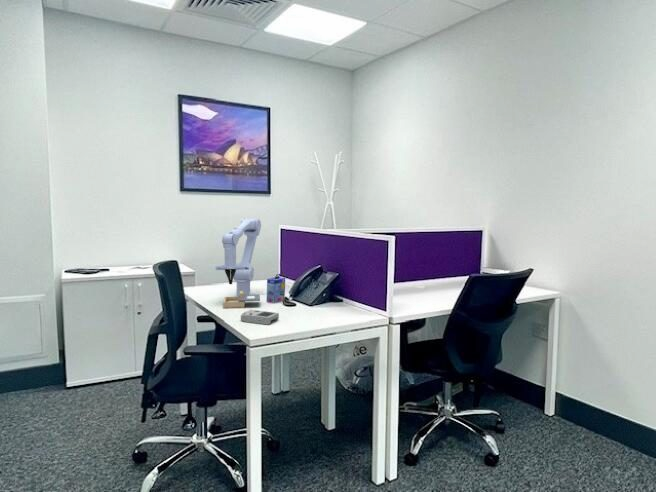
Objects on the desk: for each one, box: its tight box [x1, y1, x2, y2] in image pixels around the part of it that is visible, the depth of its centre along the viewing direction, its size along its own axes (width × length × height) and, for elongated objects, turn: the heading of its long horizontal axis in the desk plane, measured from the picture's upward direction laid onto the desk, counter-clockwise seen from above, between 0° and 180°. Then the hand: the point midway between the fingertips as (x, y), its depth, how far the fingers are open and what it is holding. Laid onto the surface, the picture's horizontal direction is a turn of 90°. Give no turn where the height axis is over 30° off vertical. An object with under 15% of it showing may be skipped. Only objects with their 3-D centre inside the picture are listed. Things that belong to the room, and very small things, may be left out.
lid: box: [238, 291, 261, 302], centre depth 222 cm, size 12×10×3 cm
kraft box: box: [222, 296, 246, 309], centre depth 222 cm, size 12×10×3 cm
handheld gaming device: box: [240, 309, 280, 325], centre depth 193 cm, size 9×15×4 cm, turn 67°
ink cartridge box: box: [266, 273, 286, 304], centre depth 231 cm, size 10×6×14 cm, turn 152°
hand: (230, 284), depth 225 cm, fingers closed
